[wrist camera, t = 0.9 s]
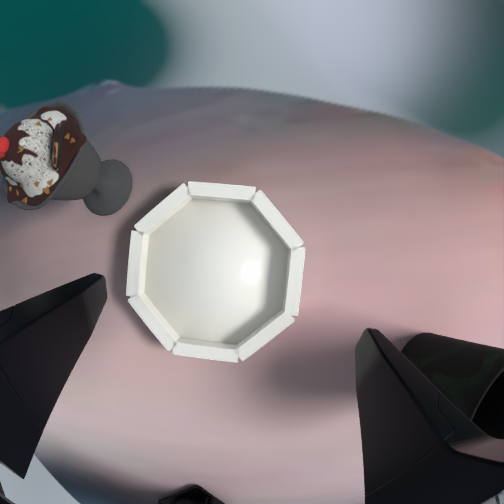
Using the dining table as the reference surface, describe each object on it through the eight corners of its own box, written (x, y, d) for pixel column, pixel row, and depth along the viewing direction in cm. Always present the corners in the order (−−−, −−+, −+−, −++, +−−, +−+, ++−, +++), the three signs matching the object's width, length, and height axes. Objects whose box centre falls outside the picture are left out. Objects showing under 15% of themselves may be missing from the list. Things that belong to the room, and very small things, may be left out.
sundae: (64, 195, 23) (-61, 152, 8) (110, 137, 23) (8, 48, 8) (106, 242, 23) (-34, 227, 8) (156, 180, 23) (52, 90, 8)
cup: (394, 410, 23) (460, 477, 11) (378, 345, 23) (461, 401, 11) (454, 371, 23) (532, 413, 11) (443, 307, 23) (538, 331, 11)
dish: (206, 381, 23) (202, 391, 21) (108, 259, 23) (97, 259, 21) (331, 282, 23) (338, 285, 21) (228, 156, 23) (226, 148, 21)
